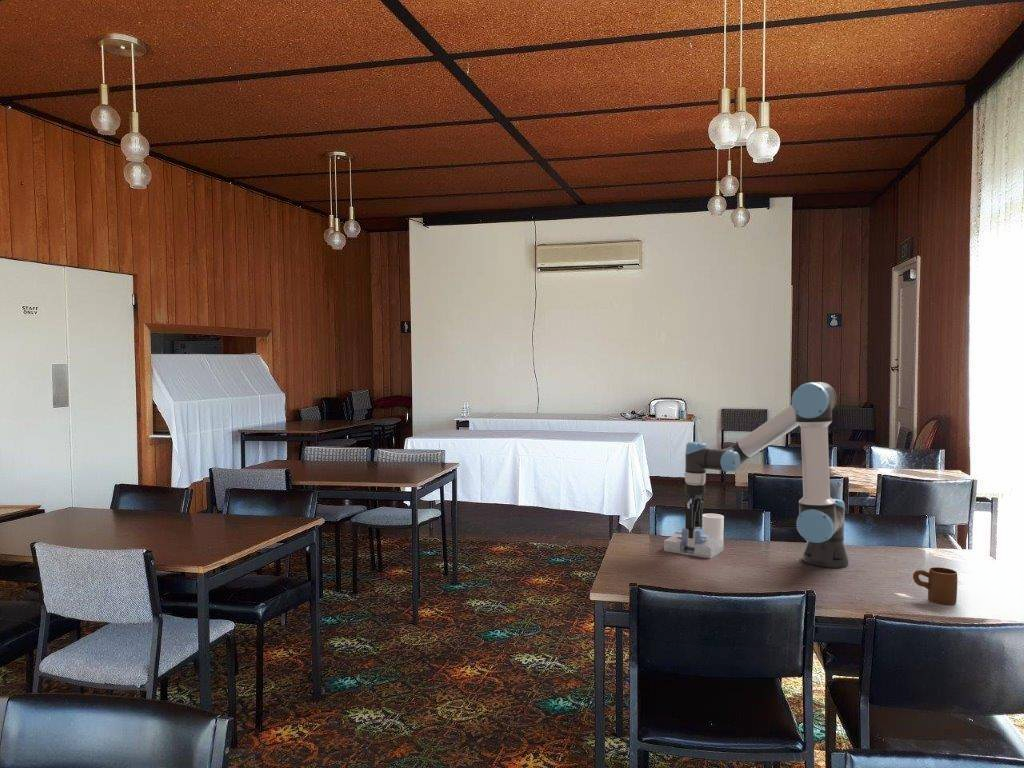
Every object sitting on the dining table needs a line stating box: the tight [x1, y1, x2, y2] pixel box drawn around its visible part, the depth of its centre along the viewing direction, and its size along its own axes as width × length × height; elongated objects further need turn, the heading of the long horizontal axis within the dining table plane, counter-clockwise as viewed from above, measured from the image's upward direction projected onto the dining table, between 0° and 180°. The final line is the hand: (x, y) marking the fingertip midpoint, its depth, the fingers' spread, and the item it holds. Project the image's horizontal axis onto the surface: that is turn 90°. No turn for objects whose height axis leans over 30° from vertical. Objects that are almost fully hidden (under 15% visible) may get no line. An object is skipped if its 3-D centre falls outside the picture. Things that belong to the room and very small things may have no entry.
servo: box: [675, 526, 710, 549], centre depth 282 cm, size 12×4×6 cm, turn 56°
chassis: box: [663, 533, 725, 560], centre depth 282 cm, size 18×14×4 cm
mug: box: [912, 566, 958, 606], centre depth 227 cm, size 12×8×9 cm, turn 76°
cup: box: [701, 513, 725, 541], centre depth 297 cm, size 8×12×10 cm
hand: (693, 545), depth 282 cm, fingers closed on servo, 4 cm apart
